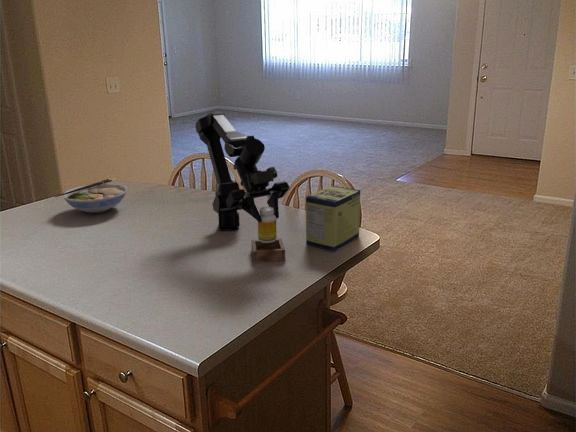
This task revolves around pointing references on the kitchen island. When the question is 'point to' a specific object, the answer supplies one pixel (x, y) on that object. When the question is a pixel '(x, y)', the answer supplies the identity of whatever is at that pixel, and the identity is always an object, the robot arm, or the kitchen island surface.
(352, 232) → the protein box
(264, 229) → the supplement bottle
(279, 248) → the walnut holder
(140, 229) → the kitchen island surface
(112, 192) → the ramen bowl
